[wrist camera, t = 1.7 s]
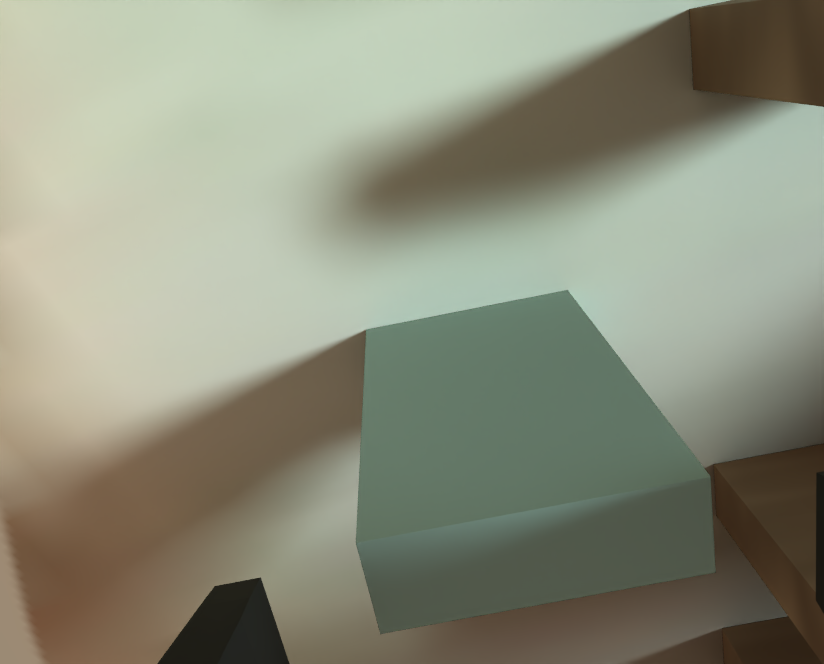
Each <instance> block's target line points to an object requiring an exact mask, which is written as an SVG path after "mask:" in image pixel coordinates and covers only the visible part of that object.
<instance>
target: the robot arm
mask: <svg viewBox="0 0 824 664" xmlns="http://www.w3.org/2000/svg"><path fill="white" fill-rule="evenodd" d="M816 602H817V603H818V605H819V607H820V608H821V610H822V612H823V614H824V471H822V472H817V473H816ZM158 664H289V661H288V658H287V655H286V652H285V649H284V646H283V643H282V640H281V637H280V634H279V631H278V628H277V625H276V622H275V619H274V616H273V613H272V610H271V607H270V604H269V601H268V598H267V595H266V592H265V589H264V586H263V583H262V580H261V578H256V579H251V580H245V581H240V582H235V583H229V584H224V585H219V586H215V587H214V588H213V590H212V591H211V592H210V593H209V595H208V596H207V597H206V599H205V600H204V601H203V603H202V604H201V605H200V607H199V608H198V609H197V611H196V612H195V613H194V615H193V616H192V617H191V619H190V620H189V622H188V623H187V624H186V626H185V627H184V628H183V630H182V631H181V632H180V634H179V635H178V637H177V638H176V639H175V641H174V642H173V643H172V645H171V646H170V647H169V649H168V650H167V651H166V653H165V654H164V656H163V657H162V658H161V660H160V661H159V662H158Z"/></svg>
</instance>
